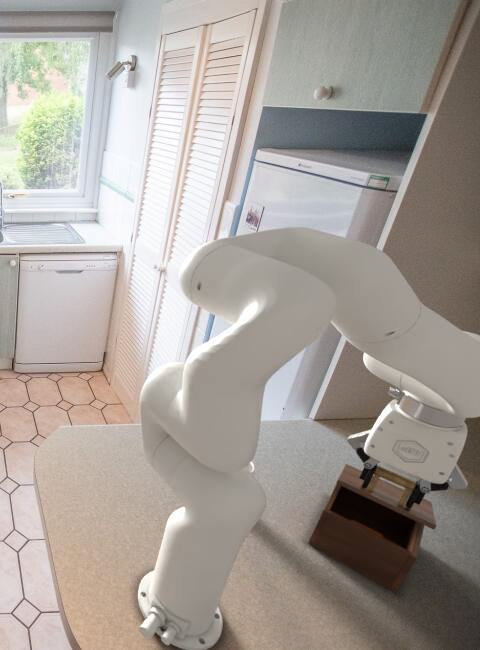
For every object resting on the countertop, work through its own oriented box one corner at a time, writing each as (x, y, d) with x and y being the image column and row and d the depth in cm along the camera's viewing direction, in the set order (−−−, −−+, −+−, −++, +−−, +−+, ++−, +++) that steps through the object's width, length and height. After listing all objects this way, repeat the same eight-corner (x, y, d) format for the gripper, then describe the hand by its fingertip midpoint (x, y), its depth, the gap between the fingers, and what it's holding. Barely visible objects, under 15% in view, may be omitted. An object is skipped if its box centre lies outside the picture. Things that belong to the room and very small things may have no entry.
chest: (395, 592, 76) (417, 558, 73) (307, 543, 85) (323, 509, 81) (409, 538, 86) (429, 505, 82) (329, 499, 94) (344, 467, 91)
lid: (434, 530, 70) (450, 499, 69) (335, 483, 79) (348, 455, 78) (429, 505, 82) (442, 479, 81) (344, 467, 91) (355, 443, 90)
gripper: (356, 393, 73) (320, 477, 81) (513, 447, 61) (454, 538, 69) (366, 375, 78) (331, 456, 85) (513, 422, 66) (458, 510, 74)
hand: (387, 492), depth 77 cm, fingers closed on lid, 5 cm apart
